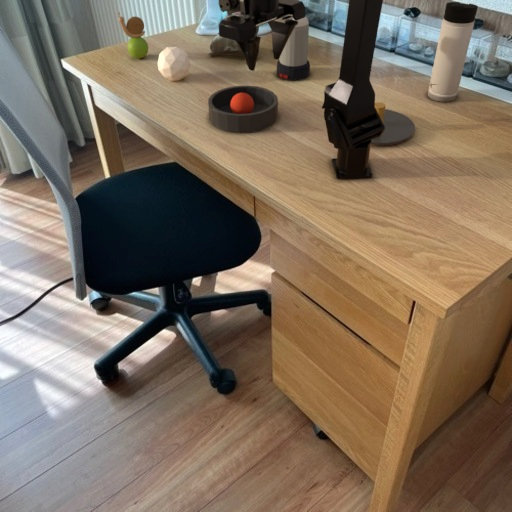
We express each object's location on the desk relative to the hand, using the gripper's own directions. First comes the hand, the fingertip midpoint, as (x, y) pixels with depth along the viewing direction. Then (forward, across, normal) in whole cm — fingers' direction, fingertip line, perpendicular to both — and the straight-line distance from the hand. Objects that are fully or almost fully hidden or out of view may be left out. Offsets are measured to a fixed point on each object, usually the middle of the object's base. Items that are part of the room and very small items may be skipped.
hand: (264, 64), depth 104 cm
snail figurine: (+12, -6, -50) cm, 52 cm away
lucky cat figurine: (+12, -23, -31) cm, 40 cm away
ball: (+9, +2, -5) cm, 10 cm away
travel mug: (+12, -34, +23) cm, 43 cm away
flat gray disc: (+12, -12, +20) cm, 26 cm away
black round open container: (+12, +2, -5) cm, 13 cm away
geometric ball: (+12, -3, -32) cm, 34 cm away
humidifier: (+12, -23, -11) cm, 28 cm away
